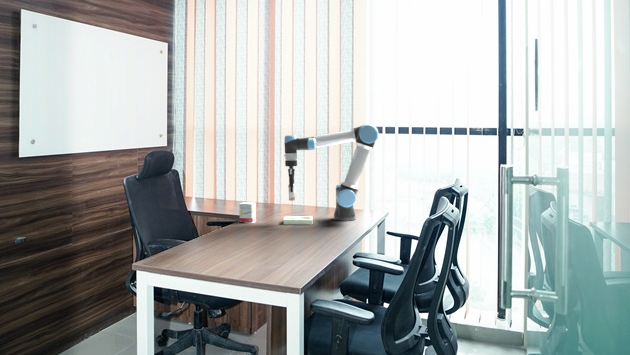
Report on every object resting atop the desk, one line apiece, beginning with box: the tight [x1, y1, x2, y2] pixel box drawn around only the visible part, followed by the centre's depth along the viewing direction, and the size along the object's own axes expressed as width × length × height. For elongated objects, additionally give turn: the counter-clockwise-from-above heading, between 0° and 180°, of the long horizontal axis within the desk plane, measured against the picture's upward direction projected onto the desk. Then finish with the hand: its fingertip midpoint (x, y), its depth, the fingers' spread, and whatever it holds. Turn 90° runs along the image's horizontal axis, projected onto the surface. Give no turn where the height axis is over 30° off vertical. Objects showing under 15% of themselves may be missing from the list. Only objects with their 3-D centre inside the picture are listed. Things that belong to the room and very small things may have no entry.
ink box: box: [239, 201, 257, 222], centre depth 312 cm, size 9×9×12 cm
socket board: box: [283, 215, 314, 226], centre depth 309 cm, size 18×12×3 cm, turn 89°
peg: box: [288, 183, 296, 202], centre depth 308 cm, size 4×4×10 cm
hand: (292, 196), depth 308 cm, fingers closed on peg, 4 cm apart
